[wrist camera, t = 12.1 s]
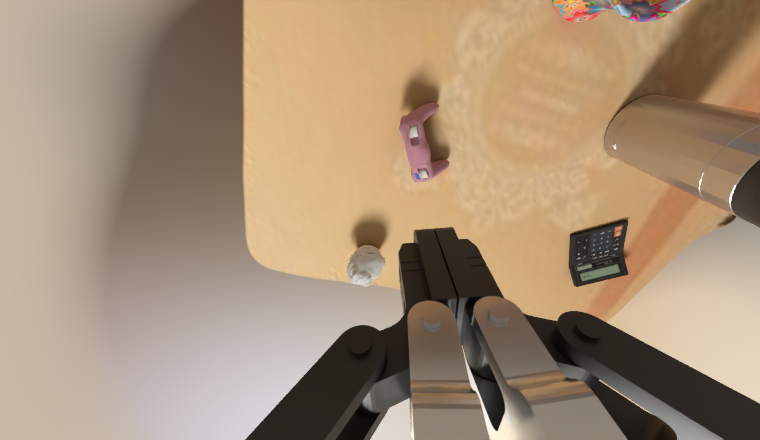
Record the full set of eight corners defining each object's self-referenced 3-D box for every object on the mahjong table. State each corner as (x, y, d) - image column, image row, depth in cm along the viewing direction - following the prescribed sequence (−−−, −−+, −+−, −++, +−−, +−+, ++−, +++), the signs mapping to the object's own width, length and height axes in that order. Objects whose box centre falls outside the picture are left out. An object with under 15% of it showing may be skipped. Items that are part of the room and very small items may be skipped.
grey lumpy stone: (341, 252, 51) (337, 279, 45) (369, 230, 48) (369, 256, 43) (364, 269, 53) (364, 298, 48) (392, 249, 51) (395, 277, 45)
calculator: (624, 218, 49) (638, 228, 47) (616, 265, 56) (628, 275, 53) (569, 233, 51) (579, 243, 48) (567, 277, 57) (576, 288, 54)
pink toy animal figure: (407, 104, 39) (389, 122, 34) (439, 97, 37) (424, 116, 32) (423, 167, 44) (408, 191, 39) (451, 165, 42) (440, 189, 37)
